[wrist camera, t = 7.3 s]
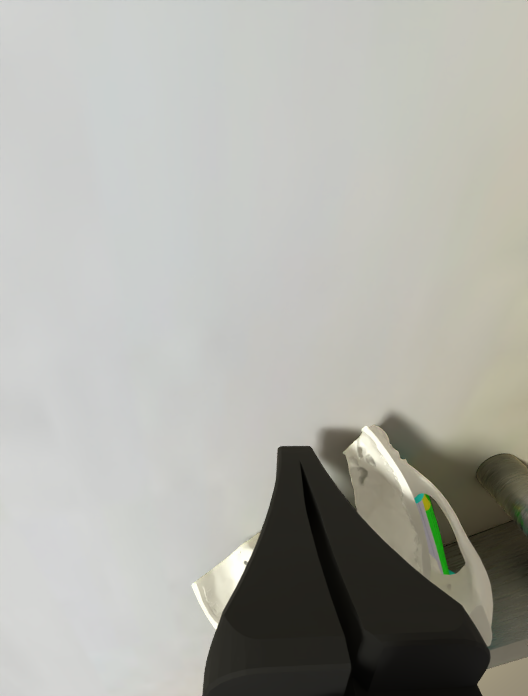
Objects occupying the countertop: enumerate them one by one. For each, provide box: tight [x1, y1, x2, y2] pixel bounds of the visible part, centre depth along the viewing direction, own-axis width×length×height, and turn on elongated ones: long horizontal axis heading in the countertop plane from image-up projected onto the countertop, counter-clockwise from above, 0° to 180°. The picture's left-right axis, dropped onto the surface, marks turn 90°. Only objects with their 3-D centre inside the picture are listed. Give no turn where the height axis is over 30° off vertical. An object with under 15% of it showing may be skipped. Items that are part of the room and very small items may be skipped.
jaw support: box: [192, 425, 493, 646], centre depth 15 cm, size 12×9×10 cm
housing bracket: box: [443, 454, 528, 669], centre depth 17 cm, size 22×8×5 cm, turn 120°
